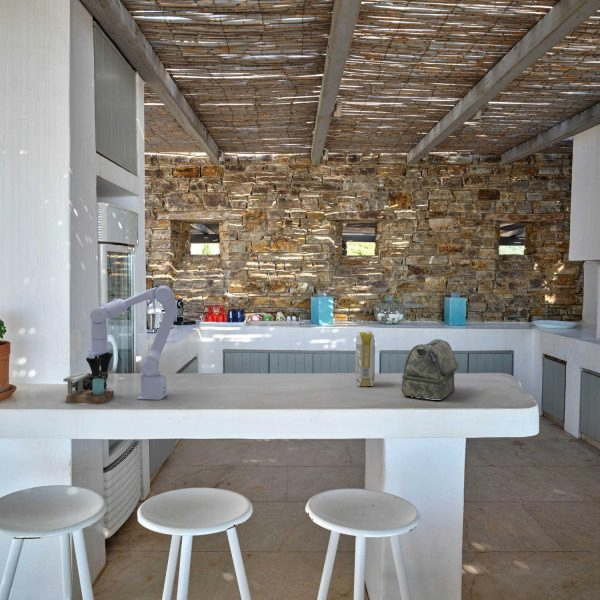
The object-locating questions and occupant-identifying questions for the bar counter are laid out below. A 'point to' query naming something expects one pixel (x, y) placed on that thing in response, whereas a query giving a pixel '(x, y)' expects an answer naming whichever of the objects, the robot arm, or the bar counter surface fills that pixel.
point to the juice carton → (365, 358)
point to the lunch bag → (429, 370)
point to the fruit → (91, 381)
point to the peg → (98, 386)
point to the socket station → (85, 392)
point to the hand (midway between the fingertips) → (100, 374)
